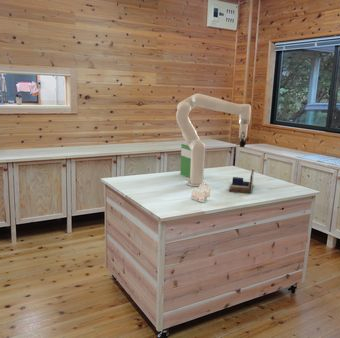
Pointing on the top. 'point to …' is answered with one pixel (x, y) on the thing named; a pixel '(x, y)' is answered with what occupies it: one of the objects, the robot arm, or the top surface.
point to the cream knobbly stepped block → (199, 195)
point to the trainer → (239, 183)
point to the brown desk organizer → (244, 190)
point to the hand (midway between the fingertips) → (242, 146)
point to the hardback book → (185, 160)
